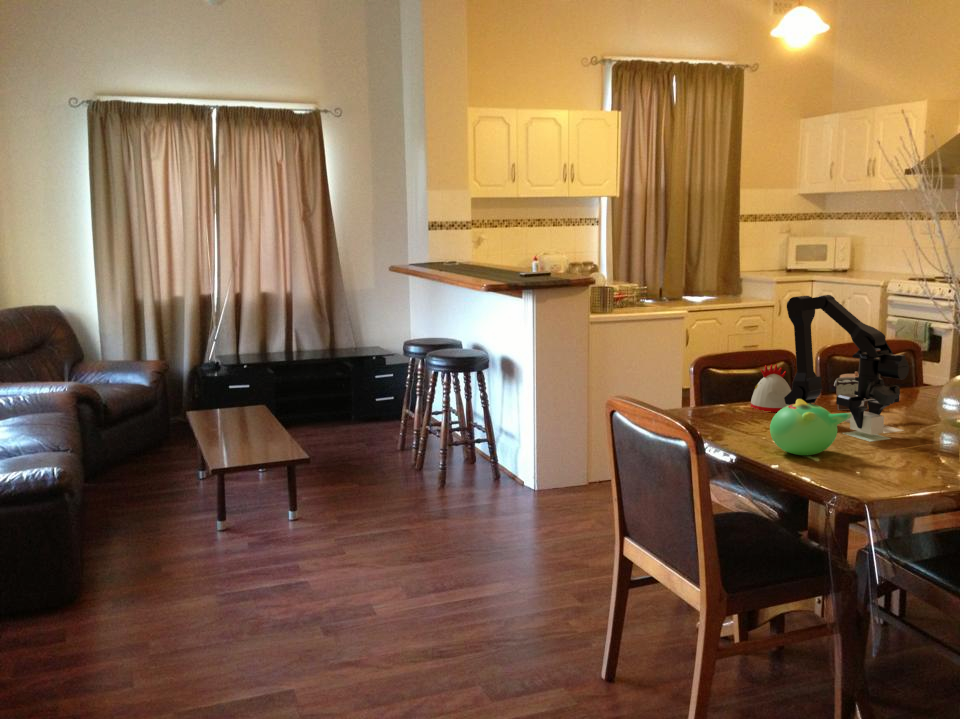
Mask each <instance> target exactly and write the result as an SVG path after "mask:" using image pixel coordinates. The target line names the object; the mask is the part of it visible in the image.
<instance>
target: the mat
mask: <svg viewBox="0 0 964 719" xmlns="http://www.w3.org/2000/svg"><path fill="white" fill-rule="evenodd" d="M841 434H843V435H847V436H849V437H853V438H856V439H860V440H862V441H867V442H870V443H871V442H878V441H886V440H892V438H891V437H887V436H884V435H881V434H872V435H870V434H867V433H863V432H860V431H856V430H853V431H846V432H841Z"/></svg>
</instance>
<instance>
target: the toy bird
mask: <svg viewBox="0 0 964 719" xmlns="http://www.w3.org/2000/svg"><path fill="white" fill-rule="evenodd" d="M851 416H852V414H851V412H841V413H839V412H838V413H831V411H829V410H827V409H826V408H824V407H823V406H820V405H817V404H815V403H811V404H809V403H806V402H805V401H804V400H802V399H797V400H796V403H795V404H792V405H788V406H786V407H784V408H782V409H781V410H779V411H778V412H777V413H774V415H773V417H772V419H771V421H770V423H769V424H770V425H769V432H770V437H771V439H772V441H773V443H774V444H775V445H776V446H777V447H778V448H779V449H780V450H782V451H784V452H786V453H789V454H793V455H796V456H812V455H817V454H819V453H822V452H824V451H825V450H827V449H828V448H829V447H830V446H832V444H833V443H834V442H835V440H836V438H837V436H838V425H839V424H841V423H843V422H845V420H847V419H849V418H850V417H851Z"/></svg>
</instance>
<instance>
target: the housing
mask: <svg viewBox="0 0 964 719" xmlns="http://www.w3.org/2000/svg"><path fill="white" fill-rule="evenodd" d="M844 422H846V423H849V424H850V418H849V419H847V420H845V421H844ZM903 431H905V429H901V428H897V427H893V426H889V425H885V424H884V427H883V433H882V434H890V433H897V432H898V433H899V432H903Z"/></svg>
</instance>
